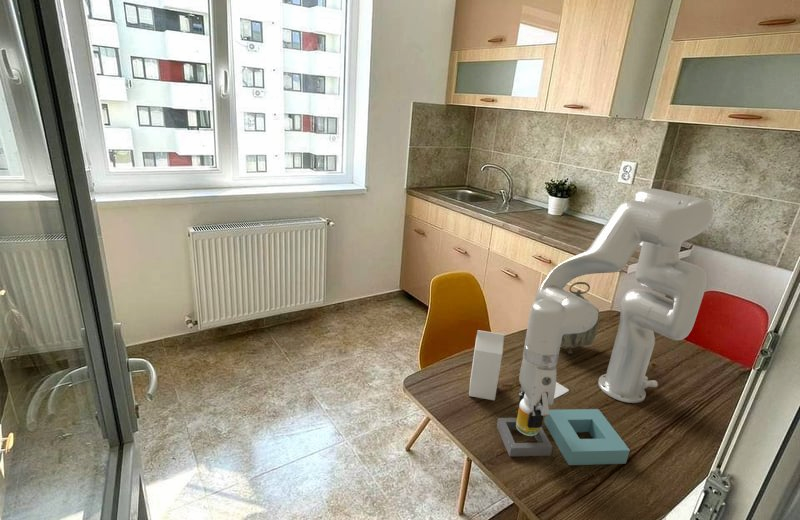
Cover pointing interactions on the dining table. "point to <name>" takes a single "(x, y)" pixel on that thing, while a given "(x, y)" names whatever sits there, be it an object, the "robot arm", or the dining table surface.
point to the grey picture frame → (523, 448)
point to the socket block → (586, 451)
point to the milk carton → (486, 365)
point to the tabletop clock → (583, 337)
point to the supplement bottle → (525, 417)
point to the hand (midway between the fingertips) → (529, 416)
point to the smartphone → (558, 390)
